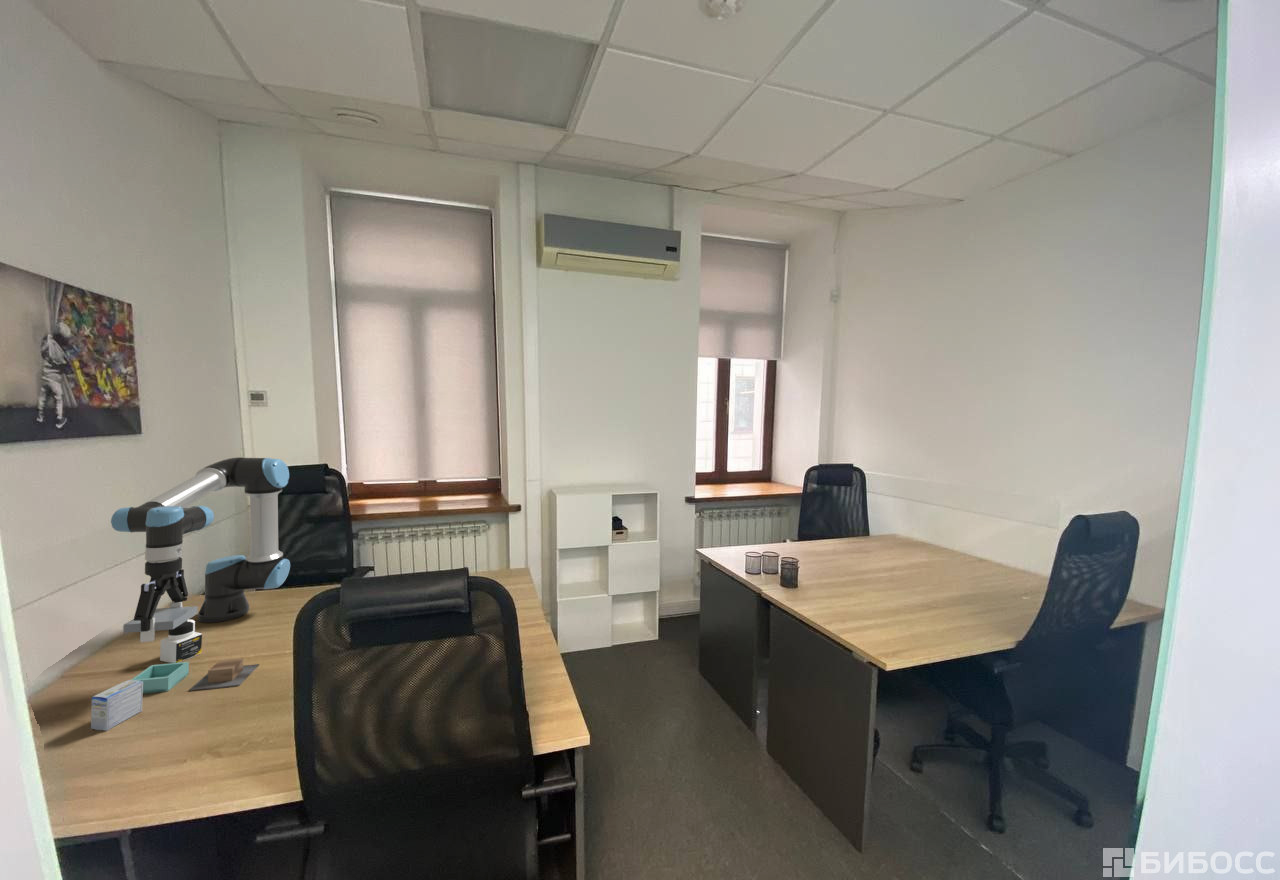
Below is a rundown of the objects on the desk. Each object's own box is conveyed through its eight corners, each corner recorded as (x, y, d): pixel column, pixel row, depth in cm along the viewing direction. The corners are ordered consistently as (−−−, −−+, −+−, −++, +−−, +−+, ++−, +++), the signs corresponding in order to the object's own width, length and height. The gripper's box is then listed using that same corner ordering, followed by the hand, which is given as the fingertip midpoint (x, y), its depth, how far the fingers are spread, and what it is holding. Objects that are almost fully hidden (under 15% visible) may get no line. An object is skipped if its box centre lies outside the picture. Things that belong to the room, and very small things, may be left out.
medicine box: (127, 710, 120) (128, 679, 119) (142, 711, 120) (143, 680, 119) (90, 730, 112) (90, 696, 112) (106, 731, 112) (107, 697, 111)
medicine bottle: (176, 664, 142) (177, 627, 142) (159, 661, 144) (160, 624, 143) (202, 653, 149) (203, 618, 149) (185, 650, 151) (186, 616, 150)
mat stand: (213, 669, 140) (213, 656, 140) (259, 665, 144) (259, 652, 144) (188, 691, 129) (188, 677, 129) (238, 686, 133) (239, 672, 133)
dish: (151, 678, 134) (151, 665, 134) (188, 674, 137) (188, 661, 137) (127, 695, 126) (128, 681, 126) (168, 691, 129) (168, 677, 128)
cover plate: (152, 616, 135) (152, 608, 135) (197, 613, 138) (197, 606, 138) (123, 632, 124) (123, 624, 124) (173, 629, 128) (173, 621, 128)
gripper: (151, 571, 121) (149, 649, 121) (204, 548, 143) (202, 614, 144) (115, 572, 118) (113, 652, 119) (175, 548, 141) (173, 616, 141)
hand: (162, 631), depth 131 cm, fingers closed on cover plate, 11 cm apart
